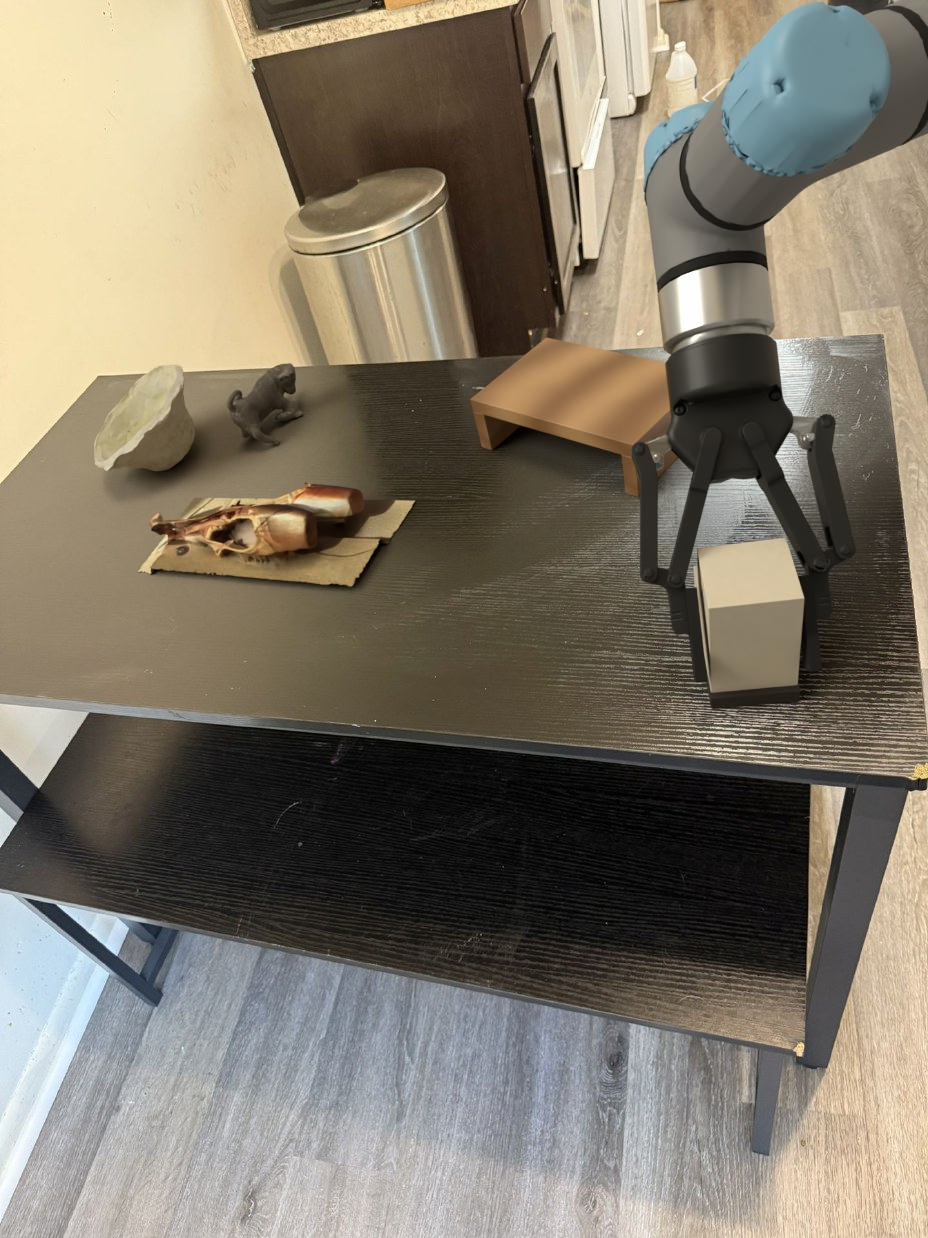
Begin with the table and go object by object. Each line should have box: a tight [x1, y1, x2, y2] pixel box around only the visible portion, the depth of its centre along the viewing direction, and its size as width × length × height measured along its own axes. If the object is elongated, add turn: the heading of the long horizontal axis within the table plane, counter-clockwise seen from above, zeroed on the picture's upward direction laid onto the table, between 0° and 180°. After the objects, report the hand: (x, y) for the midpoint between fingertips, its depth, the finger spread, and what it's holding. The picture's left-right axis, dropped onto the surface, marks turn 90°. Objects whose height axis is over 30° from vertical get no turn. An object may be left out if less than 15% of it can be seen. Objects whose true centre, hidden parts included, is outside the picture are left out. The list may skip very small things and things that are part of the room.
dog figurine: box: [226, 362, 304, 446], centre depth 104 cm, size 12×6×7 cm, turn 152°
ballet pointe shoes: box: [137, 481, 416, 587], centre depth 88 cm, size 14×7×28 cm
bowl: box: [93, 364, 196, 472], centre depth 103 cm, size 15×14×10 cm
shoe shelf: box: [469, 337, 679, 498], centre depth 88 cm, size 20×13×6 cm, turn 48°
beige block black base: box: [693, 537, 804, 709], centre depth 63 cm, size 11×6×10 cm, turn 176°
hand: (755, 674), depth 60 cm, fingers open, 7 cm apart
